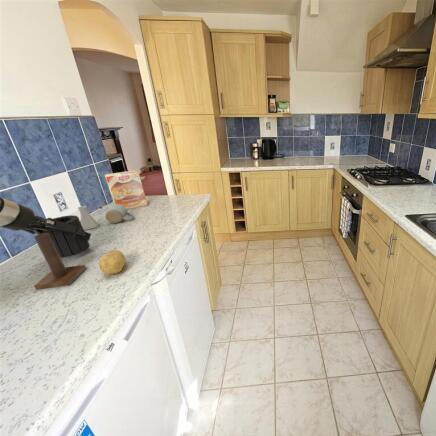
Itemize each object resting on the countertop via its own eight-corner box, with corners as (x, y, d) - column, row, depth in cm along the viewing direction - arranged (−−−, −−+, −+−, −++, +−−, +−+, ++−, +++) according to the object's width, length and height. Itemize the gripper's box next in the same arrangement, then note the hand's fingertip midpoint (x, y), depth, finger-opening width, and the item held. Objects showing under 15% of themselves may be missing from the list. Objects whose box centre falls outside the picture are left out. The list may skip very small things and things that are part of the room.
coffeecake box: (117, 211, 131) (105, 176, 124) (115, 208, 136) (103, 174, 128) (148, 204, 141) (138, 171, 133) (144, 202, 145) (135, 169, 138)
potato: (98, 282, 75) (91, 265, 73) (108, 263, 85) (102, 248, 82) (123, 276, 77) (117, 260, 75) (130, 259, 87) (125, 243, 84)
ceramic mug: (107, 225, 115) (102, 210, 112) (112, 218, 122) (107, 204, 119) (132, 221, 118) (128, 207, 115) (136, 215, 125) (132, 201, 122)
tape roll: (47, 257, 86) (31, 226, 81) (72, 243, 95) (59, 215, 90) (73, 257, 85) (59, 227, 81) (96, 243, 94) (85, 215, 90)
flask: (98, 222, 118) (91, 203, 114) (99, 227, 113) (92, 207, 109) (80, 226, 114) (71, 207, 110) (80, 231, 109) (71, 211, 105)
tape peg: (36, 289, 73) (10, 244, 66) (56, 272, 81) (35, 230, 75) (70, 285, 74) (48, 240, 68) (86, 268, 82) (68, 227, 76)
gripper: (-34, 226, 70) (43, 246, 91) (39, 227, 69) (101, 247, 89) (-21, 202, 73) (51, 227, 93) (49, 203, 71) (107, 227, 92)
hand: (75, 237), depth 91 cm, fingers closed on tape roll, 10 cm apart
